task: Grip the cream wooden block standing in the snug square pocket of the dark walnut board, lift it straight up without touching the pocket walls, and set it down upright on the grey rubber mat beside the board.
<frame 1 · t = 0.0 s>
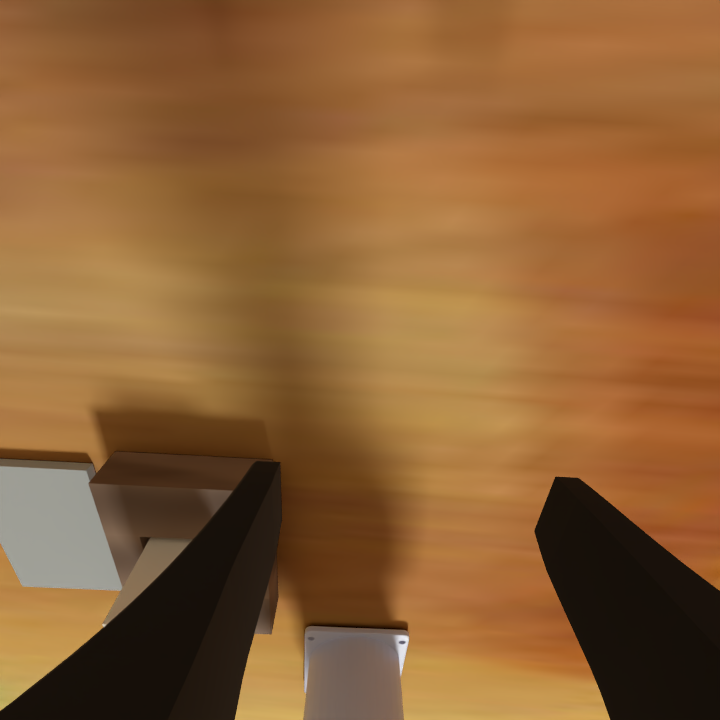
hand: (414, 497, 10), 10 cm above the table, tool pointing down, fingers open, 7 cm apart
pocket board: (206, 533, 26), on the table
cream block: (185, 583, 23), in the pocket board
grey mat: (57, 526, 25), on the table
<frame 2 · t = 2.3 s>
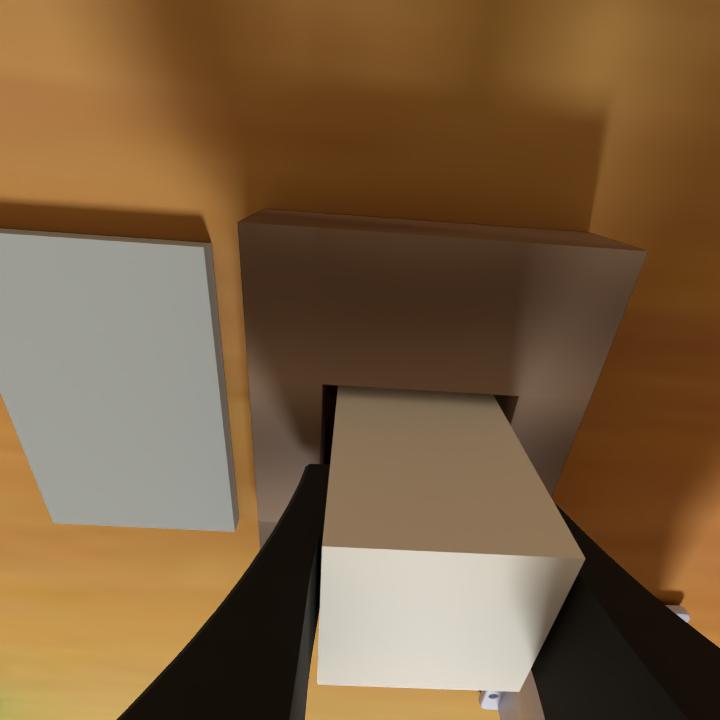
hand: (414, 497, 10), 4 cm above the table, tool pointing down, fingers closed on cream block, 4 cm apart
pocket board: (401, 416, 14), on the table
cream block: (412, 491, 11), in the pocket board, touching gripper
grey mat: (124, 400, 13), on the table
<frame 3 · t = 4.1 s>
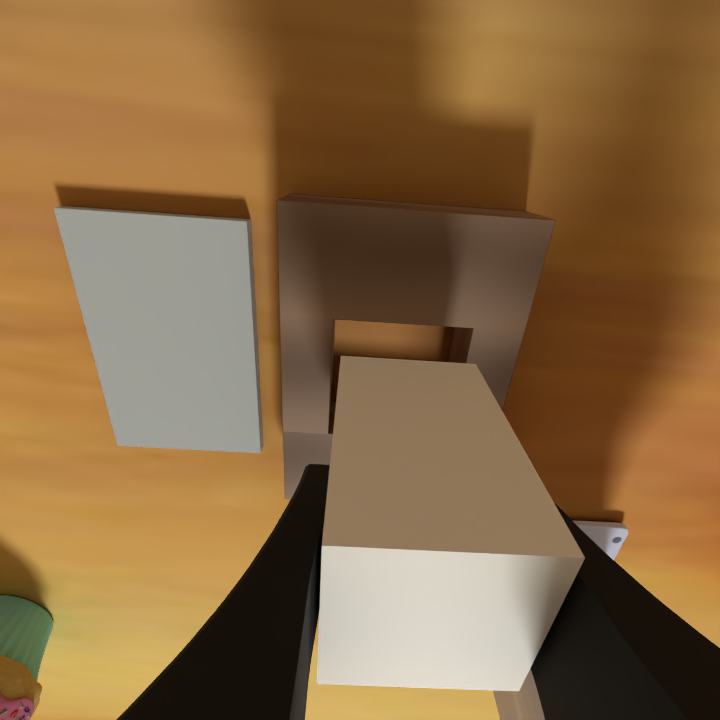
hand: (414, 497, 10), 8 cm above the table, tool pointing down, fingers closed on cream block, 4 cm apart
pocket board: (391, 356, 18), on the table
cupcake: (18, 613, 27), on the table
cream block: (412, 491, 11), point 8 cm above the table, touching gripper
grey mat: (178, 343, 18), on the table
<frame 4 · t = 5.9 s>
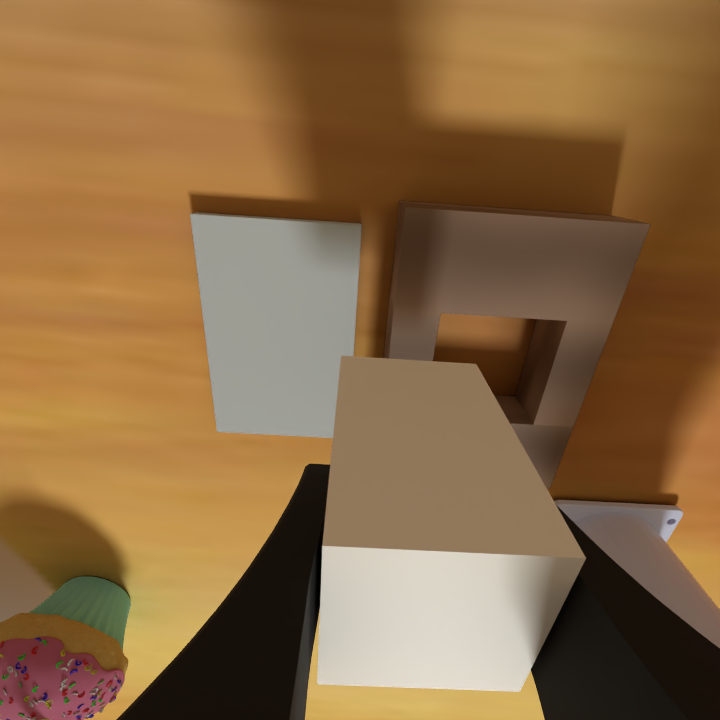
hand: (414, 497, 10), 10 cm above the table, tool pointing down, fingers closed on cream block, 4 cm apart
pocket board: (475, 348, 19), on the table
cupcake: (97, 594, 29), on the table
cream block: (413, 491, 11), point 10 cm above the table, touching gripper
grey mat: (282, 336, 19), on the table
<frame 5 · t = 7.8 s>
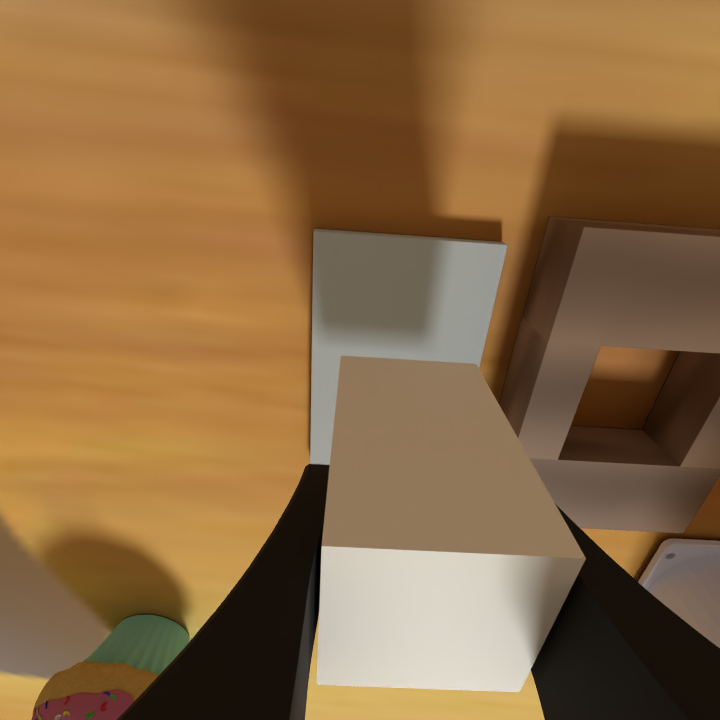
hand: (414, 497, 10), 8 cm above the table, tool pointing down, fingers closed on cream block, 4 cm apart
pocket board: (607, 379, 17), on the table
cupcake: (153, 631, 27), on the table
cream block: (412, 491, 11), point 7 cm above the table, touching gripper
grey mat: (393, 365, 17), on the table
when the fingers open (5 cm above the table, at t = 9.4 s): cream block stays where it is, resting on grey mat.
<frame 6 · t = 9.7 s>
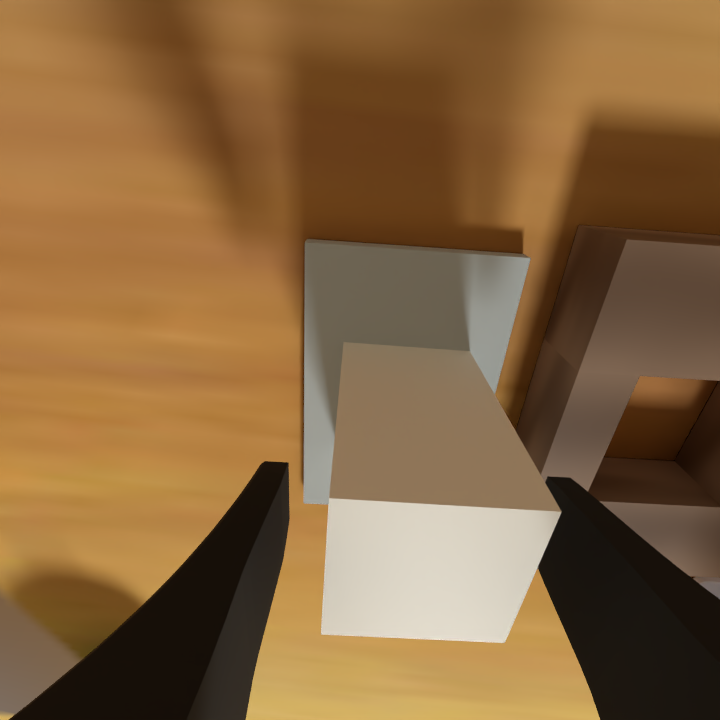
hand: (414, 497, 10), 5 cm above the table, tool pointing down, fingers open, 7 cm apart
pocket board: (638, 406, 15), on the table
cream block: (409, 465, 11), on the grey mat, point 4 cm above the table
grey mat: (397, 392, 15), on the table
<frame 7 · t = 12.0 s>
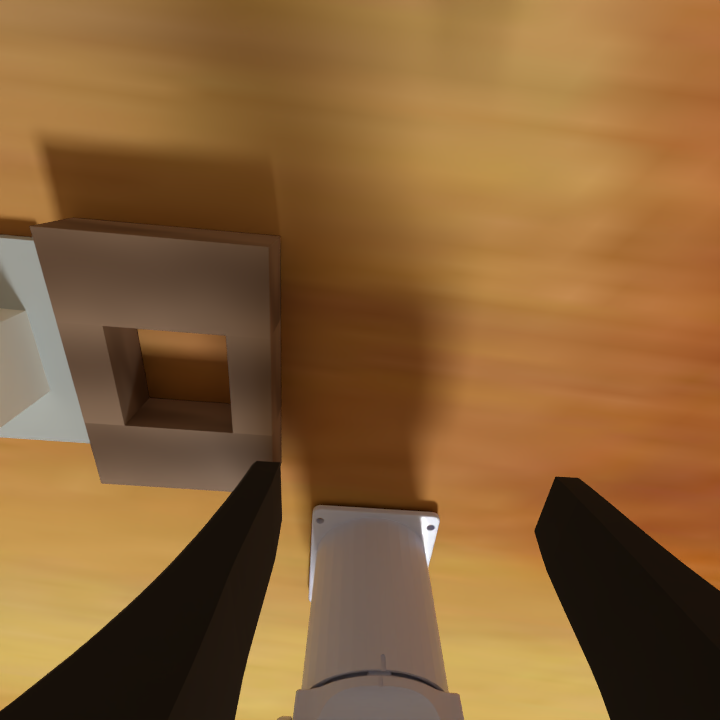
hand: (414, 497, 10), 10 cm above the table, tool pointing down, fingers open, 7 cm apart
pocket board: (193, 358, 20), on the table
grey mat: (2, 344, 20), on the table
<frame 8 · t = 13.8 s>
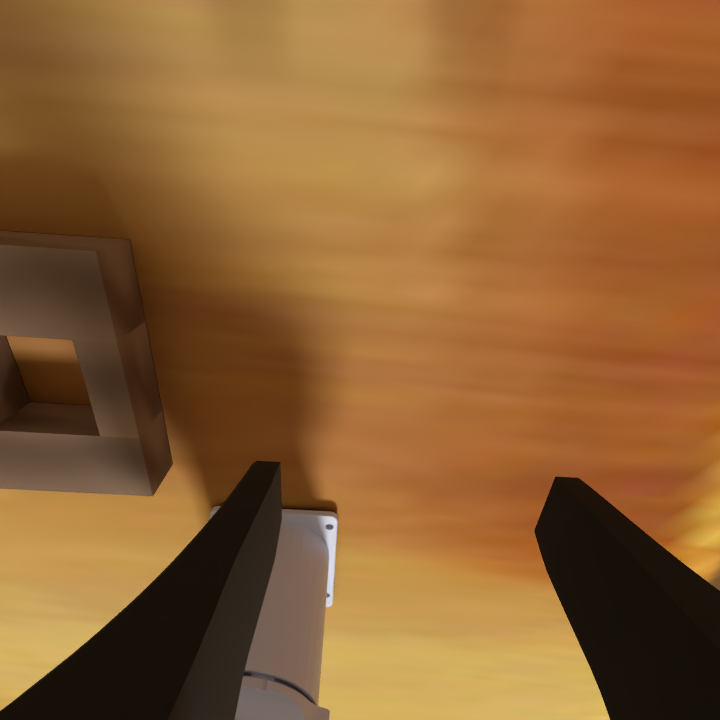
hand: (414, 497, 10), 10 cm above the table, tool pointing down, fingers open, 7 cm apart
pocket board: (65, 362, 20), on the table
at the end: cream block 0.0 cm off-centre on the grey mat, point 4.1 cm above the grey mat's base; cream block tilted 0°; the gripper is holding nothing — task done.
